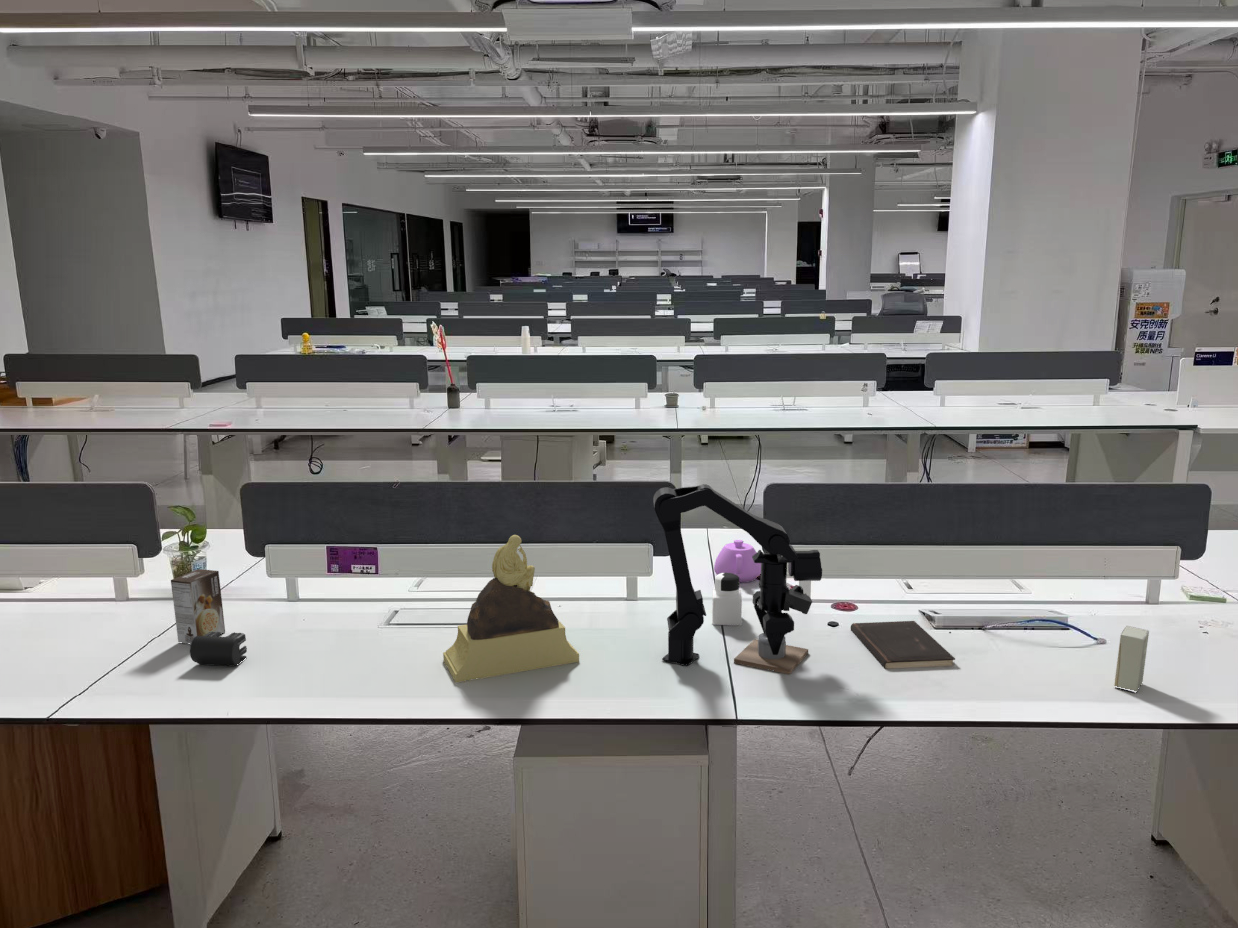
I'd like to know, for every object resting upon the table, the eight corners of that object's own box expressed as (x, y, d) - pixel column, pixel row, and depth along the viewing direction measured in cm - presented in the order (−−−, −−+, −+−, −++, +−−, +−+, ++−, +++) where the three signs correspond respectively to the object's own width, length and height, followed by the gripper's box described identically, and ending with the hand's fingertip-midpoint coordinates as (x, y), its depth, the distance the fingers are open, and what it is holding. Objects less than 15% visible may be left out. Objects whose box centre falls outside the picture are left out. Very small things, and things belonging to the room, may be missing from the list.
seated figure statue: (561, 641, 221) (558, 520, 215) (579, 662, 209) (576, 534, 203) (443, 660, 210) (437, 533, 204) (455, 683, 199) (449, 549, 193)
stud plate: (789, 674, 201) (790, 659, 200) (733, 662, 207) (734, 648, 207) (808, 653, 212) (808, 638, 211) (754, 642, 218) (755, 628, 218)
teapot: (760, 565, 277) (761, 530, 275) (763, 587, 258) (764, 550, 255) (714, 564, 279) (714, 529, 276) (713, 585, 259) (714, 549, 257)
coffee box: (205, 629, 230) (198, 567, 227) (226, 632, 228) (220, 570, 225) (177, 643, 221) (169, 579, 218) (198, 646, 219) (191, 582, 216)
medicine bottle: (740, 615, 236) (741, 570, 234) (741, 625, 229) (742, 579, 227) (712, 614, 237) (712, 570, 234) (712, 625, 230) (712, 579, 227)
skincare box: (1120, 678, 198) (1126, 624, 195) (1143, 684, 195) (1149, 629, 192) (1113, 688, 193) (1119, 633, 190) (1137, 694, 190) (1143, 638, 188)
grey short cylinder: (787, 659, 207) (787, 642, 206) (760, 659, 207) (760, 642, 206) (782, 648, 213) (782, 631, 212) (756, 648, 212) (756, 632, 212)
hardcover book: (913, 629, 227) (914, 620, 227) (954, 668, 205) (955, 658, 204) (850, 632, 226) (850, 623, 226) (884, 671, 204) (884, 661, 203)
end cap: (191, 669, 207) (188, 640, 205) (208, 656, 214) (205, 628, 212) (233, 671, 206) (230, 642, 204) (249, 658, 212) (246, 630, 211)
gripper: (819, 594, 197) (816, 662, 200) (800, 567, 215) (798, 630, 218) (766, 594, 197) (765, 663, 200) (753, 567, 215) (751, 631, 218)
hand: (771, 646), depth 209 cm, fingers open, 9 cm apart
